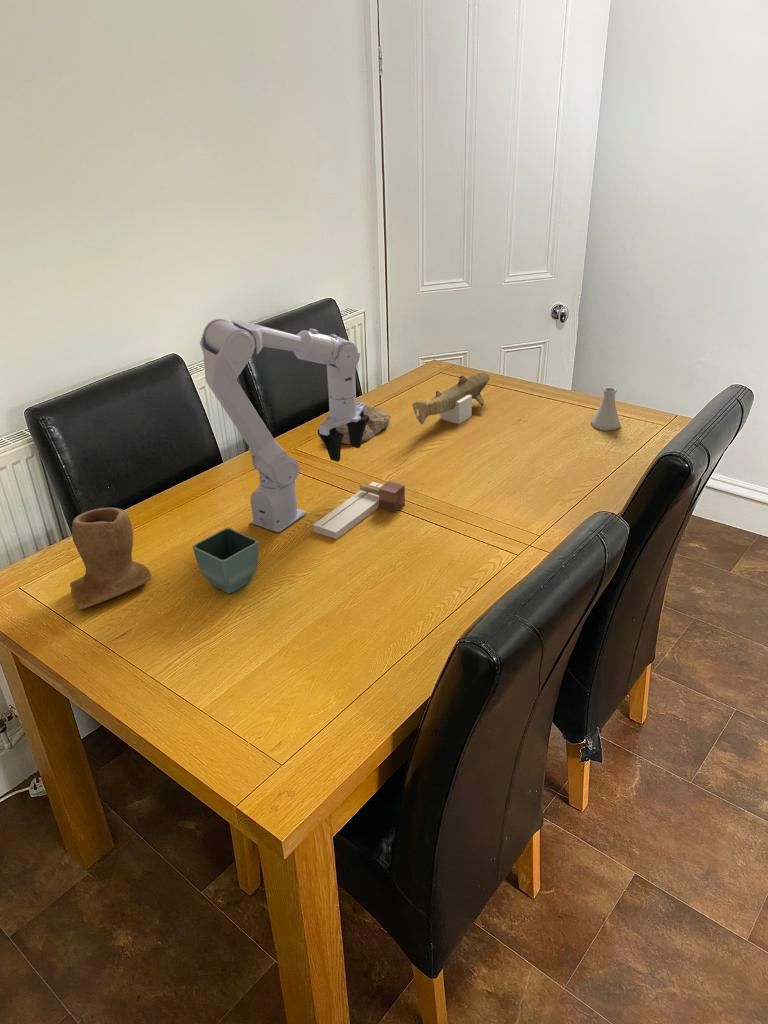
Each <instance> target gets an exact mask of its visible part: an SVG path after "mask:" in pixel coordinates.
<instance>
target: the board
mask: <svg viewBox="0 0 768 1024" xmlns="http://www.w3.org/2000/svg"><path fill="white" fill-rule="evenodd" d="M368 485H372V486H375V487H379V488H380V487H381V486H383V485H384V484H382V483H378V482H375V481H372V482H371V483H369V484H368ZM378 508H379V495H375V494H372V493H369V492H368V493H366V492H365V491H362V490H359V491H357V493H355V494H353V495H352V496H351V497H349V498H348V499H347V500H345V501H344V502H342V503H341V504H340V505H338V506H336V507H335V508H334V509H333V510H331V511H330V512H328V513H327V514H326V515H324V516H323V517H321V518H320V519H319V520H317V521H315V522H314V523H313V524H312V531H313V532H314V533H318V534H320V535H323V536H325V537H329V538H332V539H335V540H338V539H339V538H340V537H342V536H343V535H344V534H345V533H347V532H348V531H350V530H351V529H352V528H354V527H355V526H356V525H357V524H359V523H360V522H361V521H362V520H364V519H365V518H367V517H368V516H369V515H371V514H372V513H373V512H375V510H377V509H378Z"/></svg>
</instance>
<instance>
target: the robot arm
mask: <svg viewBox="0 0 768 1024" xmlns="http://www.w3.org/2000/svg"><path fill="white" fill-rule="evenodd" d="M199 345H200V349H201V351H202V354H203V365H204V379H205V382H206V384H207V386H208V387H209V388H210V390H211V392H212V393H213V394H214V396H215V398H216V399H217V400H218V402H219V403H220V405H221V407H222V408H223V410H224V411H225V412H226V414H227V416H228V417H229V419H230V420H231V422H232V423H233V425H234V427H236V429H237V431H238V432H239V433H240V435H241V436H242V438H243V439H244V441H245V443H246V444H247V446H248V447H249V448H248V450H247V451H248V452H249V453H250V455H251V462H252V463H251V464H252V465H253V467H254V469H255V470H257V471H258V474H259V476H258V477H259V479H258V480H259V482H258V483H259V484H258V486H257V488H256V489H255V490H254V491H253V492H252V494H250V506H251V507H250V509H251V515H252V519H251V520H250V524H253V525H255V526H259V527H261V528H263V529H267V530H269V531H272V532H275V533H280V532H282V531H283V530H285V529H287V528H288V527H290V525H292V524H294V523H295V522H296V521H298V520H299V519H301V518H302V517H304V516H306V514H307V511H306V510H303V509H300V508H298V504H297V503H298V502H297V491H296V480H297V479H298V477H299V475H300V464H299V462H298V461H297V460H296V459H295V458H293V457H291V456H289V454H288V453H287V451H286V450H285V449H284V448H283V447H282V446H281V445H280V444H279V443H278V442H277V441H276V440H275V438H274V437H273V435H272V434H271V432H270V430H269V428H267V425H266V424H265V422H264V421H263V419H262V418H261V416H260V415H259V413H258V412H257V410H256V408H255V407H254V405H253V404H252V402H251V401H250V399H249V397H248V396H247V394H246V393H245V391H244V389H243V388H242V387H241V384H239V381H238V379H239V377H240V375H241V374H242V372H243V370H244V368H245V367H246V366H247V364H248V363H249V361H250V360H251V358H252V356H253V354H255V355H258V354H259V353H260V352H261V350H262V349H264V348H270V349H271V348H272V349H276V350H283V351H289V352H293V354H294V355H295V357H296V358H297V359H298V360H302V361H307V362H313V363H317V364H322V365H326V374H327V389H328V390H327V391H328V407H329V414H328V415H327V416H326V417H325V419H324V420H323V422H322V423H320V424H318V429H317V435H318V437H319V438H320V439H321V441H322V442H323V444H324V446H325V448H326V450H327V453H328V456H329V459H330V460H331V461H334V462H340V461H341V447H342V438H343V436H344V434H343V433H339V432H338V431H336V428H337V427H339V426H340V425H343V424H347V427H348V431H349V439H350V444H349V445H350V446H351V448H356V449H360V448H361V445H362V442H361V441H362V437H363V433H364V430H365V427H366V425H367V423H368V421H369V416H368V415H364V413H366V412H367V407H368V405H367V403H365V402H359V401H358V402H357V395H356V394H357V391H356V388H357V387H356V373H357V369H356V368H357V365H358V363H359V361H360V358H361V352H359V351H358V348H357V346H356V345H355V343H354V342H352V341H350V340H347V339H344V338H343V337H340V336H337V334H334V333H330V334H329V335H327V334H323V333H319V330H317V329H315V328H309V330H306V329H303V330H301V331H299V332H298V333H297V334H294V333H289V332H286V331H284V330H283V331H282V330H278V329H275V328H271V327H267V326H263V325H259V324H256V323H251V322H245V321H242V320H241V321H240V320H230V321H227V320H226V319H224V318H215V319H213V320H211V321H210V322H208V323H207V324H206V325H205V327H204V329H203V332H202V335H201V338H200V340H199Z"/></svg>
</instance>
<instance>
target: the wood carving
mask: <svg viewBox="0 0 768 1024" xmlns="http://www.w3.org/2000/svg"><path fill="white" fill-rule="evenodd" d="M490 379H491V377H490V375H489V374H488V373H485V372H480V373H475V374H473V375H471V376H469V377H465V376H464V375H459V377H458V383H456V384H455V385H453V386H451V387H449V388H447V389H445V390H443V391H442V392H440V390H437V391H435V396H434V397H432V398H431V399H430V400H429V401H420V400H417V401H416V400H415V401H413V403H412V408H413V412H414V415H415V417H416V419H417V421H418V422H419V424H420V425H424V424H425V421H426V419H427V418H428V417H429V416H436V415H439V419H440V420H442V419H443V420H442V421H447V422H449V423H454V424H458V425H460V424H461V423H464V422H465V421H466V420H468V419H470V418H471V417H472V411H473V410H472V407H473V403H472V402H473V399H475V400H476V401H477V402H478V403H479V405H480V406H481V407H483V406H484V405H485V401H484V399H483V396H482V395H481V393H482V391H483V390H484V388H485V387H486V386H487V384H488V382H489V380H490Z"/></svg>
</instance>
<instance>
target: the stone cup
mask: <svg viewBox="0 0 768 1024" xmlns="http://www.w3.org/2000/svg"><path fill="white" fill-rule="evenodd" d="M133 531H134V530H133V526H132V522H131V518H130V515H129V514H128V513H127V512H126V511H125V510H124V509H121V508H118V507H103V508H102V507H101V508H100V507H99V508H95V509H91V510H88V511H86V512H85V511H84V512H82V513H80V514H78V515H77V516H76V517H74V518H73V520H72V523H71V538H72V541H73V543H74V546H75V548H76V550H77V552H78V554H79V556H80V558H81V561H82V562H83V564H84V568H85V574H84V575H83V576H81V577H80V578H78V579H75V580H72V581H71V582H69V586H70V588H71V589H70V592H71V595H72V600H73V601H74V604H75V606H76V608H77V609H78V610H79V611H81V610H85V609H87V608H90V607H92V606H96V605H97V604H101V603H103V602H105V601H108V600H111V599H113V598H116V597H117V596H121V595H123V594H125V593H128V592H130V591H132V590H134V589H136V588H138V587H141V586H142V585H144V584H146V583H148V582H149V581H150V580H151V579H152V573H151V571H150V570H149V568H148V567H146V565H145V564H142V563H141V562H137V561H133V556H132V553H133V547H134V545H133V544H134V532H133Z"/></svg>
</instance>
